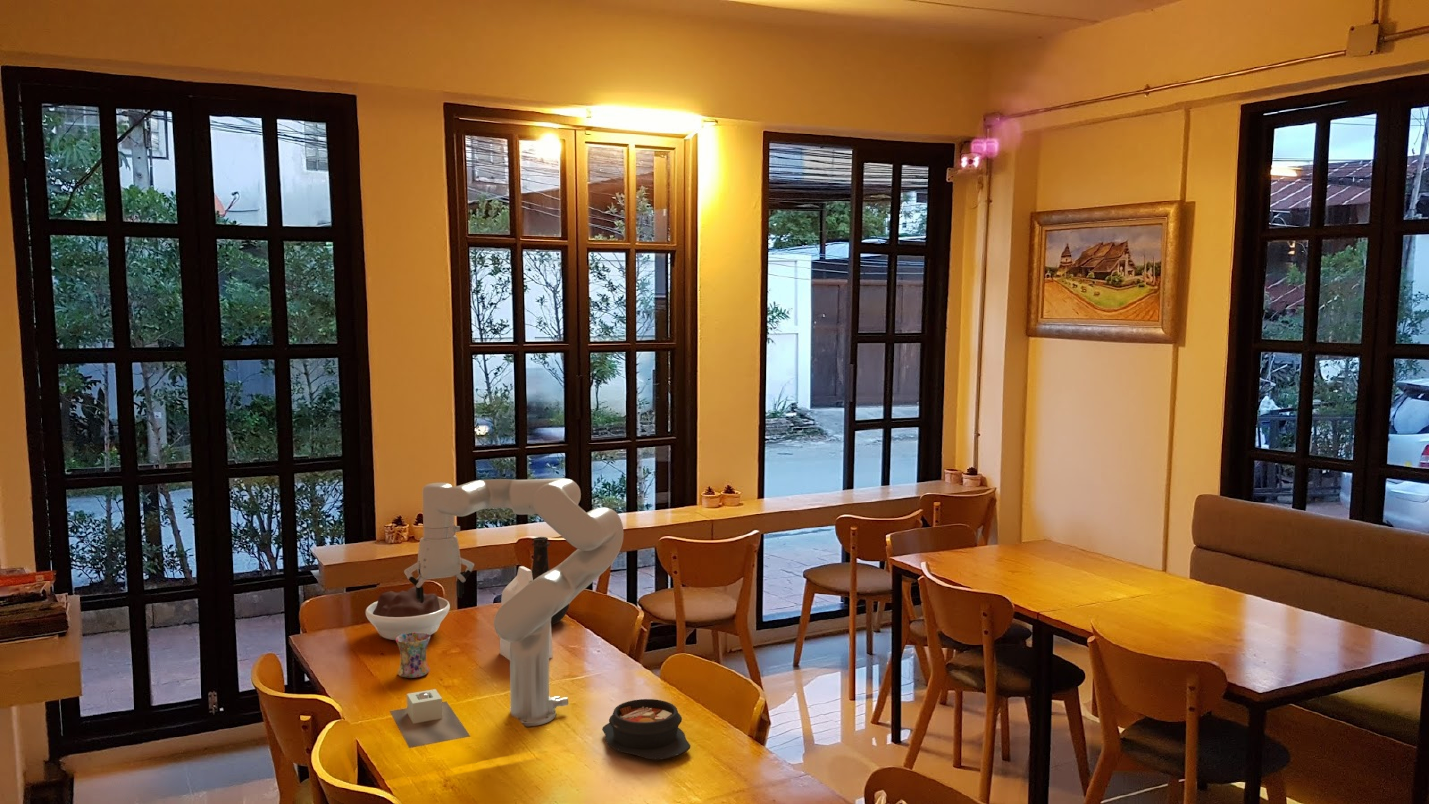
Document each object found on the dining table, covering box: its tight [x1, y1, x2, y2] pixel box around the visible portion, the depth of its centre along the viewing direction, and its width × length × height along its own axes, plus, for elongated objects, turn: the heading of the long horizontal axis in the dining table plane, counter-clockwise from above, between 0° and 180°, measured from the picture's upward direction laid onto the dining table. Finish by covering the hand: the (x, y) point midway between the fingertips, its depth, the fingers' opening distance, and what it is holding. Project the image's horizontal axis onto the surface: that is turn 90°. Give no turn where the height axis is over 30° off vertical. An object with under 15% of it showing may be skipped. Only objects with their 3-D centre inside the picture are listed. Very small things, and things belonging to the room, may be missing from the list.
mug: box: [395, 632, 431, 679], centre depth 286 cm, size 12×9×11 cm
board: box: [389, 701, 471, 749], centre depth 248 cm, size 14×24×2 cm, turn 28°
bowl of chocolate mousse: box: [365, 585, 451, 641], centre depth 319 cm, size 25×25×15 cm
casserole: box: [601, 698, 691, 761], centre depth 240 cm, size 25×19×8 cm
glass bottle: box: [530, 536, 570, 626], centre depth 332 cm, size 18×18×28 cm
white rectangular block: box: [406, 688, 443, 724], centre depth 253 cm, size 7×7×5 cm
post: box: [419, 692, 429, 700], centre depth 253 cm, size 2×4×6 cm, turn 28°
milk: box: [499, 565, 554, 661], centre depth 301 cm, size 12×12×26 cm
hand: (440, 599), depth 259 cm, fingers open, 9 cm apart
